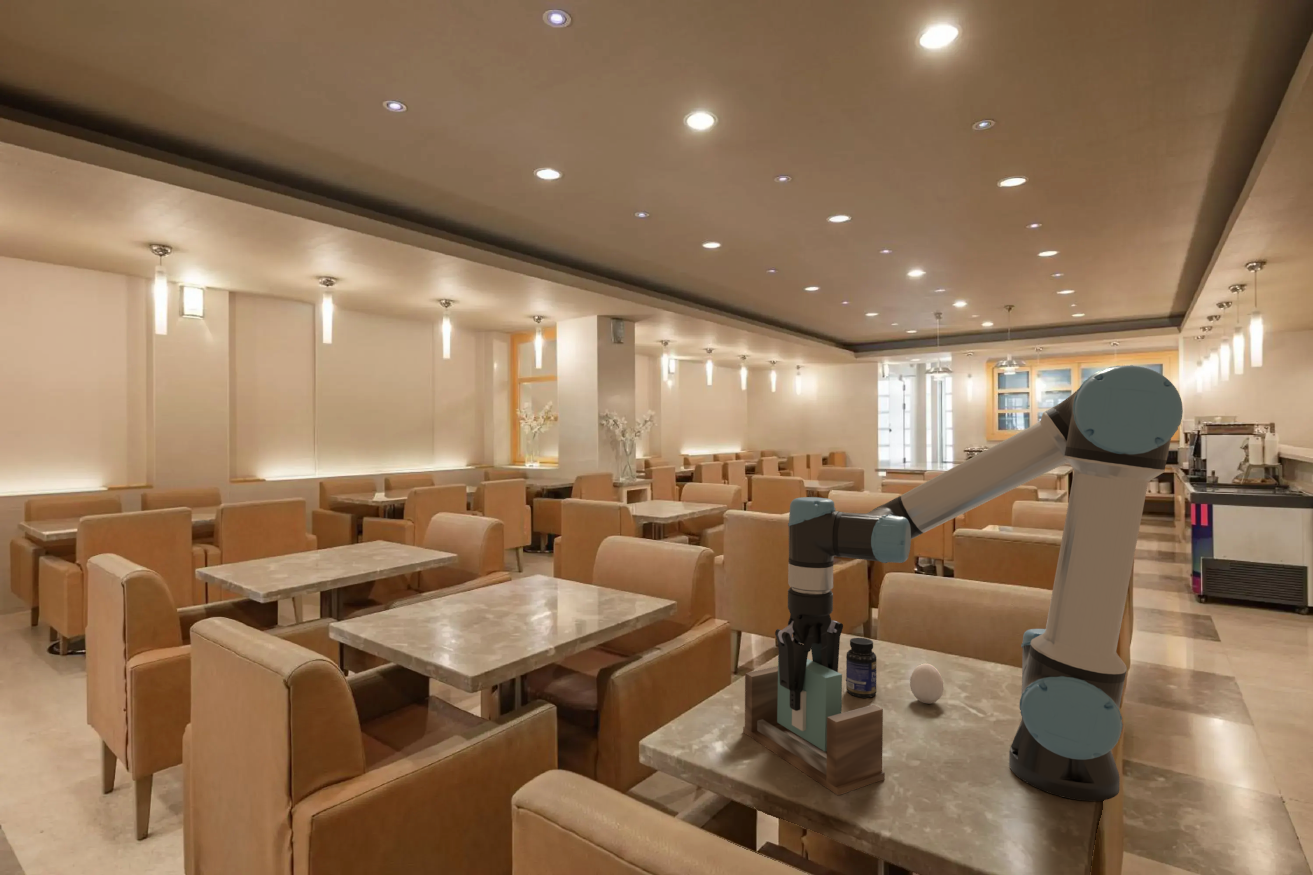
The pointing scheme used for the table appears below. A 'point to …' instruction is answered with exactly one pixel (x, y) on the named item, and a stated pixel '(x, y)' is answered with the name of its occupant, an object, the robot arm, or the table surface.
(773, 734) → the wooden desk organizer
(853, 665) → the pill bottle
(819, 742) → the green rectangular box
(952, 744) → the table surface
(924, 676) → the egg
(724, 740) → the table surface
